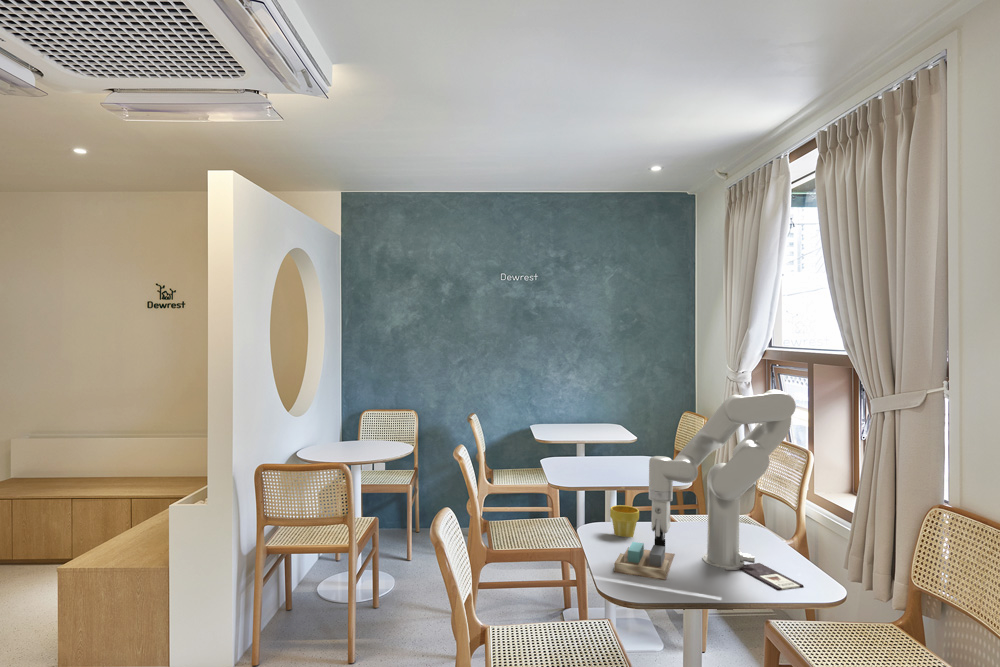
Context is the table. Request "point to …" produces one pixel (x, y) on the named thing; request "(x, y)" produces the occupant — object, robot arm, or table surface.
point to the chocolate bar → (770, 576)
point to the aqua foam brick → (635, 552)
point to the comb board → (643, 566)
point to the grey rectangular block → (657, 555)
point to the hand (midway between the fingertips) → (659, 551)
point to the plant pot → (624, 520)
